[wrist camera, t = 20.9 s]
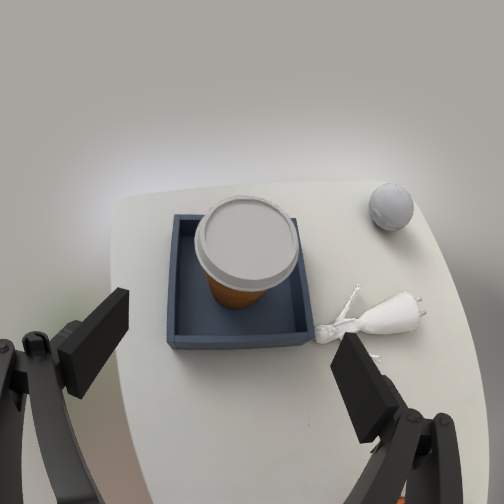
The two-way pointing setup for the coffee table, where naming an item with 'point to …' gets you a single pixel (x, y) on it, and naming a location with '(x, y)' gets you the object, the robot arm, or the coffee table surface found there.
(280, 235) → the disposable coffee cup
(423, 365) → the coffee table surface
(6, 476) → the robot arm
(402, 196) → the bath bomb
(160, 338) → the coffee table surface
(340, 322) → the woman figurine
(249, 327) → the bin
